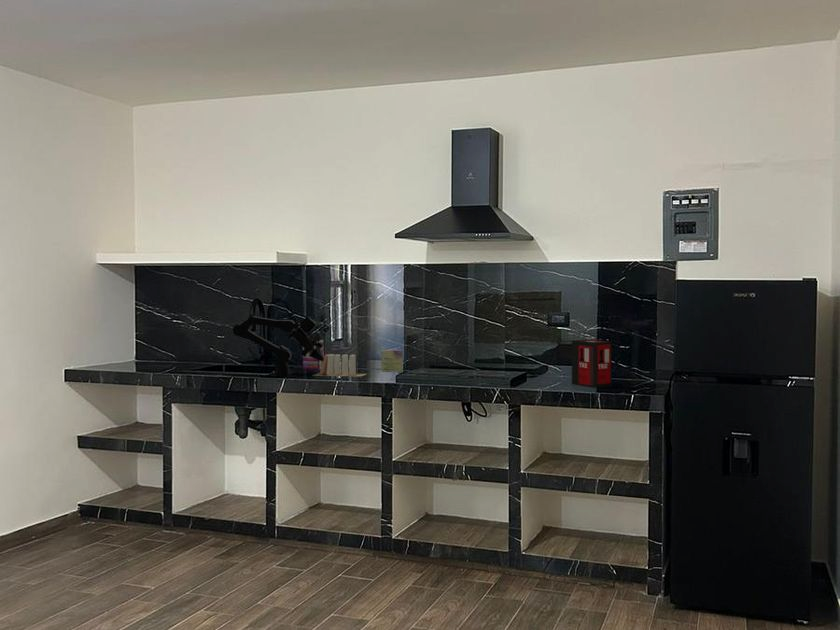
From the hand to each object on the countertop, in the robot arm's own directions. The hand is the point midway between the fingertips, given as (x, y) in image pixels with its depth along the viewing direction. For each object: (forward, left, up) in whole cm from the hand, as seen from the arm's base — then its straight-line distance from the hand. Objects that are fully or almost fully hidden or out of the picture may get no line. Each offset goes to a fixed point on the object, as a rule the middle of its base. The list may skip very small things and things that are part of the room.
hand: (324, 361), depth 414 cm
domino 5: (+15, 0, -7) cm, 16 cm away
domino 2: (+3, 0, -7) cm, 7 cm away
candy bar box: (-16, +28, -8) cm, 33 cm away
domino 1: (-1, 0, -6) cm, 7 cm away
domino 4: (+11, 0, -7) cm, 13 cm away
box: (+30, +20, -8) cm, 37 cm away
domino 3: (+7, 0, -7) cm, 10 cm away
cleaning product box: (+132, -13, -8) cm, 133 cm away
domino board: (+8, 0, -8) cm, 11 cm away
